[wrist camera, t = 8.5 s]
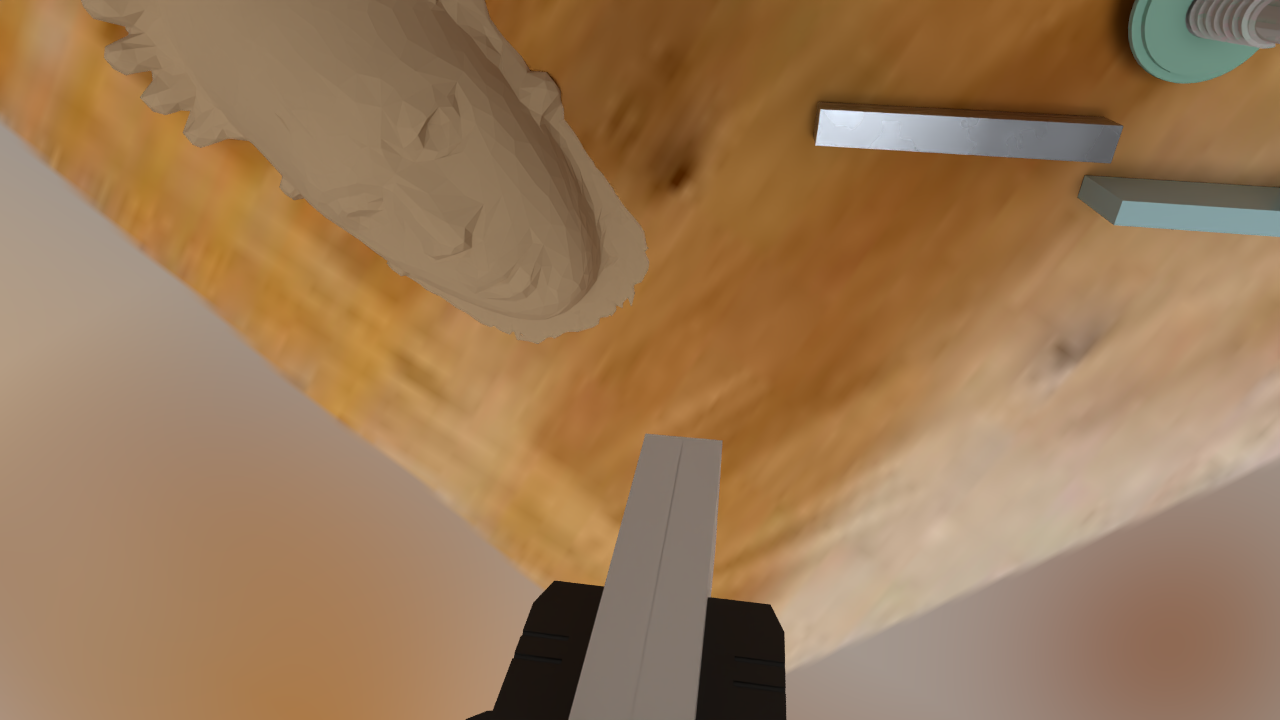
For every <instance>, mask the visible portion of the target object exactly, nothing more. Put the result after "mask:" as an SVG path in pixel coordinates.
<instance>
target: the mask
mask: <svg viewBox="0 0 1280 720" xmlns="http://www.w3.org/2000/svg"><path fill="white" fill-rule="evenodd" d="M81 1H82V4H83V7H84V8H85V9H86V11H87V12H88V13H89V14H90V15H91V16H92V18H93V19H97V20H101V21H105V22H109V23H114V24H118V25H122V26H125V27H126V30H127V31H128V32H129V35H128V36H126V37H124V38H122V39H120V40H118V41H116V42H114V43H112V44H110V45H108V46H106V47H105V55H104V58H105V59H106V60H107V62H108V63H109V64H110V65H111V66H112V68H113V69H115V70H117V71H119V72H121V73H123V74H125V75H129V74H133V73H139V72H145V71H152V77H153V81H152V82H151V84H150V85H149V86H148V87H147V89H146V90H145V91H144V92H143V94H142V95H141V97H140V98H141V99H142V100H143V101H144V102H145V103H146V104H147V105H148V106H149V107H150V109H151V110H152V111H154V112H157V113H160V114H164V115H168V114H171V113H174V112H177V111H180V110H184V111H190V114H189V117H188V120H187V123H186V125H185V128H184V131H183V134H184V135H185V136H186V137H187V138H188V140H189V141H190V142H191V143H192V144H193V145H195V146H197V147H200V148H201V147H205V146H209V145H211V144H214V143H217V142H220V141H223V140H225V139H228V138H229V139H237V140H246V141H250V142H251V143H252V144H253V145H254V146H255V147H256V148H257V149H258V150H259V151H260V152H261V153H262V154H263V155H264V156H265V157H266V158H267V160H268V161H269V162H270V163H271V164H272V165H273V166H274V167H275V168H276V169H277V171H278V172H279V173H280V174H281V175H282V180H281V184H280V188H281V190H282V191H283V192H284V194H286V195H287V196H289V197H290V198H292V199H293V200H297V199H303V198H305V199H306V200H307V202H308V203H309V204H310V205H312V206H313V207H314V208H315V209H316V210H317V211H319V212H320V213H321V214H322V215H323V216H325V217H326V218H327V219H329V220H330V221H332V222H333V223H335V224H336V225H338V226H339V227H341V228H342V229H344V230H345V231H347V232H348V233H350V234H351V235H353V236H354V237H356V238H357V239H359V240H360V241H361V242H363V243H364V244H365V245H367V246H368V247H369V248H370V249H372V250H373V251H374V252H376V253H377V254H378V255H380V256H381V257H383V258H384V259H386V260H387V261H388V262H387V264H388V265H389V266H390V268H391V269H392V270H394V271H395V272H396V273H398V274H399V275H400V276H405V275H406V276H408V277H409V278H411V279H412V280H414V281H416V282H417V283H419V284H421V285H422V286H423V287H424V288H425V289H426V290H428V291H430V292H432V293H434V294H436V295H439V296H441V297H442V298H444V299H445V300H446V301H448V302H449V303H450V304H452V305H453V306H455V307H456V308H458V309H460V310H462V311H463V312H465V313H467V314H469V315H470V316H471V317H473V318H474V319H476V320H477V321H478V322H480V323H482V324H484V325H487V326H489V327H492V326H495V327H496V328H497V329H499V330H500V331H502V332H505V333H507V334H511V333H512V332H515V335H516V338H517V340H523V341H530V342H533V343H536V344H539V343H540V342H542V341H544V340H545V339H546V338H548V337H553V338H556V337H558V336H560V335H561V334H562V333H565V332H579V331H582V330H585V329H588V328H592V327H594V326H596V325H597V324H599V319H600V318H601V317H608V316H609V315H611V316H612V315H613V314H614V312H615V311H616V305H617V306H619V307H621V308H623V302H624V301H625V300H626V299H627V298H628V299H629V302H630V305H631V306H632V302H633V298H634V294H635V292H634V285H635V284H637V283H640V282H642V280H643V278H644V276H645V274H646V273H647V271H648V267H649V260H648V258H647V256H646V253H645V251H646V250H647V249H648V247H647V245H646V240H645V234H644V231H643V229H642V227H641V226H640V225H639V223H638V222H637V221H636V219H635V218H634V217H633V216H632V215H631V214H630V213H629V211H628V210H627V209H626V208H625V207H624V205H623V204H622V203H621V201H620V199H619V198H618V196H617V195H616V194H615V192H614V189H613V188H612V187H611V185H610V184H609V183H608V181H607V180H606V178H605V177H604V175H603V174H602V173H601V172H600V171H599V170H598V169H597V168H596V167H595V165H594V163H593V161H592V159H591V158H590V157H589V156H588V155H587V153H586V151H585V150H584V149H583V146H582V144H581V143H580V141H579V139H578V138H577V136H576V135H575V133H574V131H573V130H572V129H571V128H570V126H569V125H568V124H567V122H566V121H565V120H564V108H563V105H562V103H561V92H560V89H559V88H558V86H557V85H556V84H555V83H554V81H553V80H552V79H551V78H550V76H549V75H548V74H547V73H546V72H539V71H530V69H529V68H528V66H527V65H526V63H525V61H524V60H523V58H522V57H521V56H520V54H519V53H518V52H517V51H516V50H515V49H514V48H513V47H512V46H511V45H510V44H509V42H508V41H507V40H506V39H505V38H504V37H503V36H502V34H501V33H500V32H499V30H498V29H497V27H496V26H495V25H494V23H493V22H492V20H491V19H490V17H489V13H488V10H487V6H486V3H485V0H81ZM521 334H522V335H523V336H522V335H521Z"/></svg>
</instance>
